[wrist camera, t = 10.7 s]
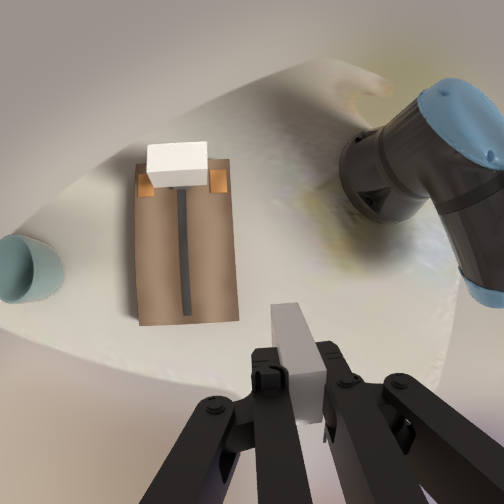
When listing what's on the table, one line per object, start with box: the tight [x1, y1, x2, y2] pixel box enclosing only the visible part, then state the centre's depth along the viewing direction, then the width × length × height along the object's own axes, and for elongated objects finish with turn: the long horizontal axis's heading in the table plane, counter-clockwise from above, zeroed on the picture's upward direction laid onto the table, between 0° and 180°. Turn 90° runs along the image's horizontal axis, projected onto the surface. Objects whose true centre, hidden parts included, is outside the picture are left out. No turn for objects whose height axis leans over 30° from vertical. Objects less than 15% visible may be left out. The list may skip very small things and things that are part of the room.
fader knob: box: [147, 142, 208, 190], centre depth 32 cm, size 6×3×8 cm, turn 94°
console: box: [134, 159, 239, 326], centre depth 37 cm, size 12×20×3 cm, turn 4°
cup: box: [0, 234, 64, 304], centre depth 30 cm, size 8×8×10 cm
